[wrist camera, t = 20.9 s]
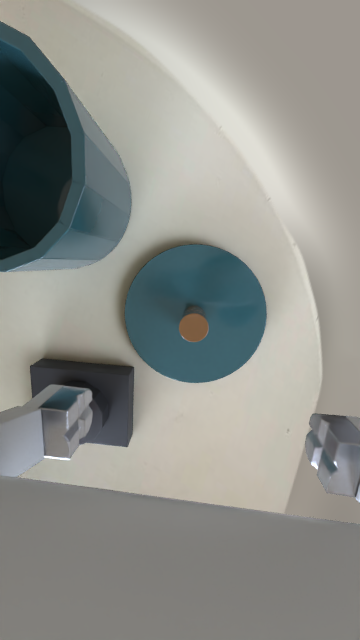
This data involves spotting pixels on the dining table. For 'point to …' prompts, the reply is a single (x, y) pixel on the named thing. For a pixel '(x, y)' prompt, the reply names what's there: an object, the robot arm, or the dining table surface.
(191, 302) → the jar lid
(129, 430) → the box
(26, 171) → the storage jar
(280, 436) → the dining table surface
